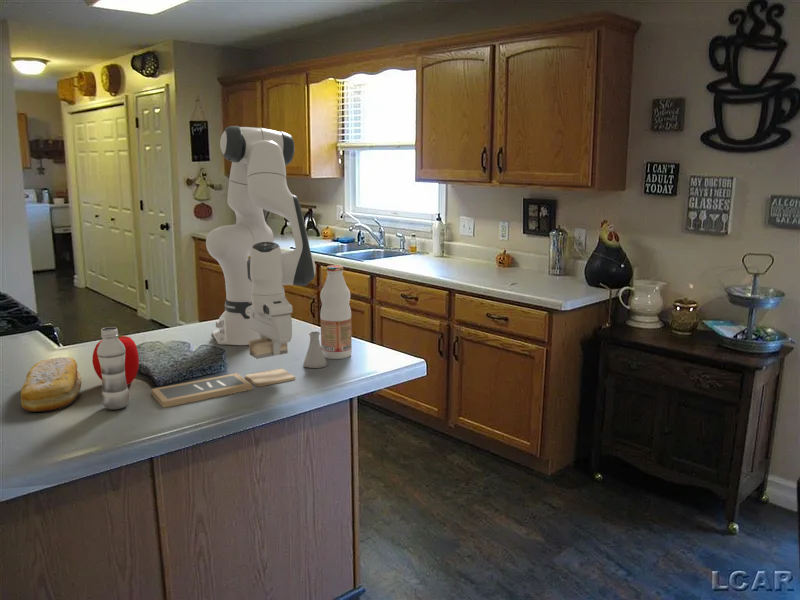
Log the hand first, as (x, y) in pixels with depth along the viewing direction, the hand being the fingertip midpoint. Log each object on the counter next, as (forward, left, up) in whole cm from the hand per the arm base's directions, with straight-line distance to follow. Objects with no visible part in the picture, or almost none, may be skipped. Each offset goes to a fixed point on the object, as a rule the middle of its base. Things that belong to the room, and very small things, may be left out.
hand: (270, 351), depth 182 cm
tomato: (-18, -36, -8) cm, 42 cm away
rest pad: (0, 0, -8) cm, 8 cm away
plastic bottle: (-1, -40, -8) cm, 41 cm away
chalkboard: (0, -19, -8) cm, 21 cm away
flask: (-4, +16, -8) cm, 18 cm away
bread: (-20, -52, -8) cm, 56 cm away
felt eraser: (0, -1, -1) cm, 1 cm away
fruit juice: (-9, +26, -8) cm, 28 cm away
